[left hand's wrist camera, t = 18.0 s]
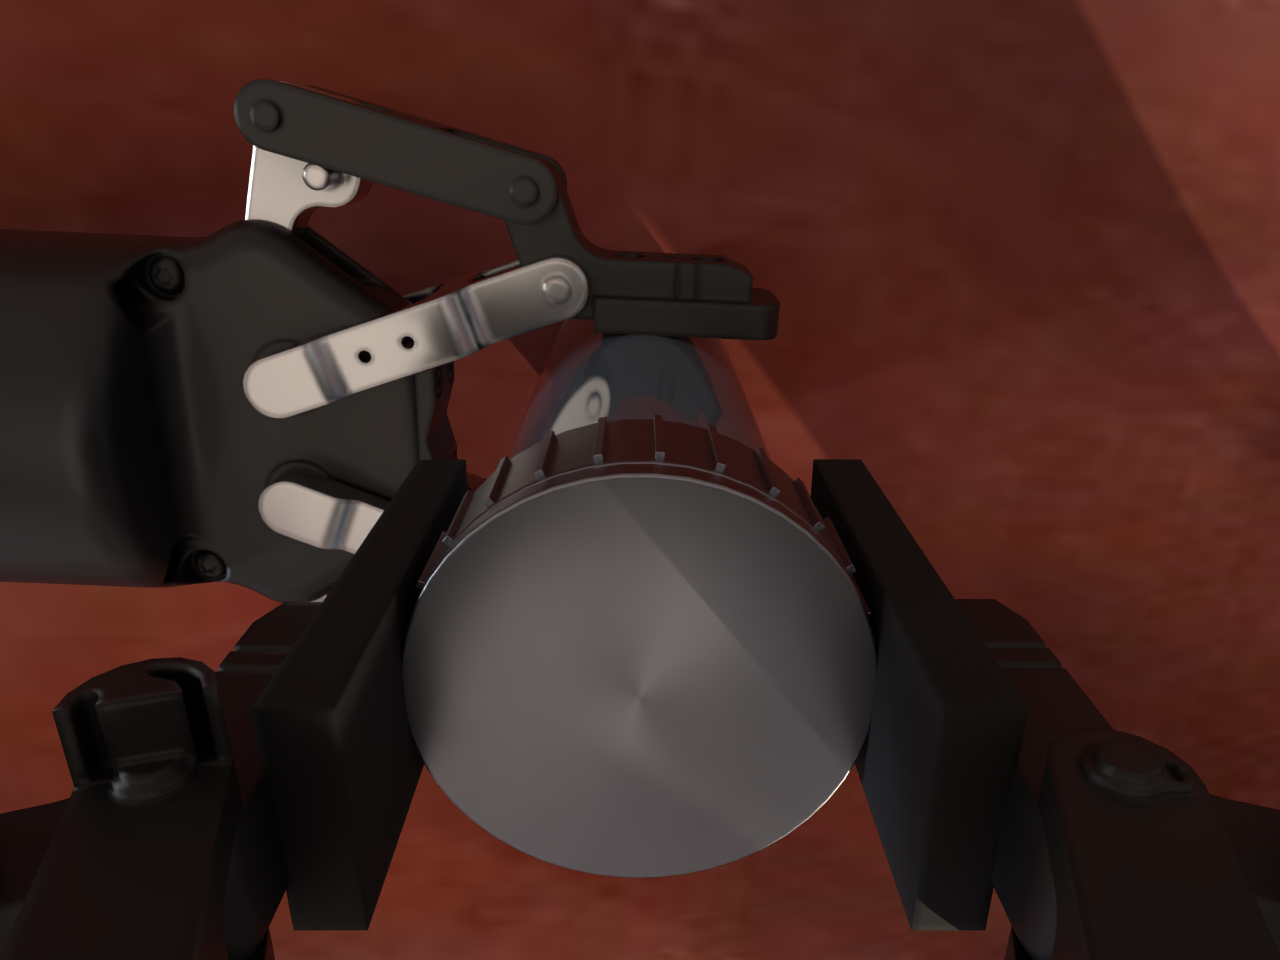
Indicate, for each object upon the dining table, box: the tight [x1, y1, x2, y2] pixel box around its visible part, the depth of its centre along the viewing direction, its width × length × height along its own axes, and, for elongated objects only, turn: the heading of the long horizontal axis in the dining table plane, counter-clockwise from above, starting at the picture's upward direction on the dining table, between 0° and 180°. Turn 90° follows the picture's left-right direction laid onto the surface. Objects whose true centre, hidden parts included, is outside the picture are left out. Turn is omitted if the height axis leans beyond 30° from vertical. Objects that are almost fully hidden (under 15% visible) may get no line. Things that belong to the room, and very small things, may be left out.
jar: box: [508, 319, 773, 462], centre depth 18 cm, size 5×5×15 cm
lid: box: [401, 415, 878, 878], centre depth 11 cm, size 6×6×2 cm
